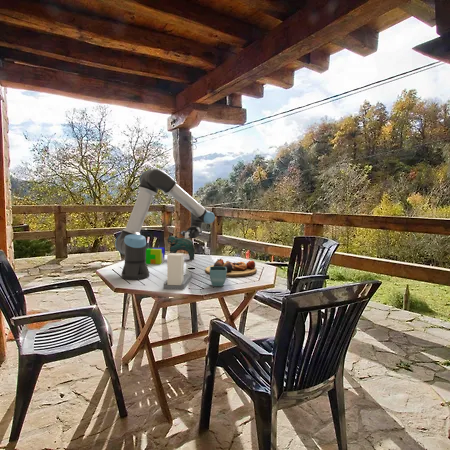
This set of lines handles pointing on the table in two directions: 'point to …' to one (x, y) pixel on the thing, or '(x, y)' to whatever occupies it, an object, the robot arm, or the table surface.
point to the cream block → (175, 268)
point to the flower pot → (218, 275)
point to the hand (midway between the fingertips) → (186, 235)
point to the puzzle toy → (155, 255)
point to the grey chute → (184, 284)
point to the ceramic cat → (181, 245)
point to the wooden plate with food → (235, 268)
